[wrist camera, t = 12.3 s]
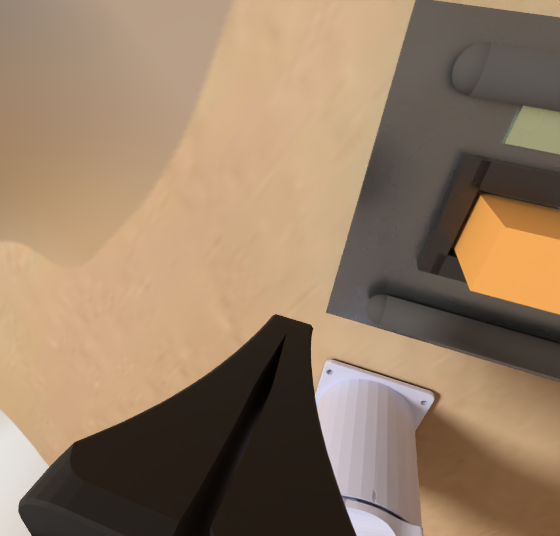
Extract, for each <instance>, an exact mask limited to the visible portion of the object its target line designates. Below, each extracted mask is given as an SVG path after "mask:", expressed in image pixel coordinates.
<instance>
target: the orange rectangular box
mask: <svg viewBox="0 0 560 536" xmlns="http://www.w3.org/2000/svg"><path fill="white" fill-rule="evenodd" d="M453 247H454V250H455V252H456V255H457V258H458V260H459V263H460V266H461V268H462V271H463V273H464V276H465V279H466V281H467V284H468V287H469V289H470V291H474V292H477V293H481V294H485V295H489V296H492V297H496V298H500V299H504V300H507V301H511V302H515V303H519V304H522V305H526V306H530V307H533V308H537V309H541V310H545V311H548V312H552V313H556V314H560V209H555V208H551V207H546V206H542V205H537V204H533V203H528V202H524V201H519V200H514V199H510V198H505V197H501V196H496V195H492V194H487V193H483V192H477V194H476V196H475V198H474V200H473V202H472V204H471V206H470V209H469V211H468V213H467V215H466V217H465V219H464V221H463V223H462V225H461V227H460V229H459V231H458V234H457V236H456V238H455V240H454V242H453Z"/></svg>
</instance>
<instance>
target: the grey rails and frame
mask: <svg viewBox="0 0 560 536" xmlns="http://www.w3.org/2000/svg"><path fill="white" fill-rule="evenodd" d="M452 81H453V84H454V86H455V88H456V89H457V90H458V91H459V92H460V93H462V94H464V95H467V96H473V97H478V98H484V99H490V100H495V101H501V102H506V103H512V104H518V105H523V106H529V107H534V108H540V109H546V110H551V111H557V112H560V52H554V51H548V50H541V49H535V48H528V47H521V46H515V45H508V44H502V43H495V42H479V43H476V44H473V45H472V46H470V47H468V48H467V49H466V50H465V51H463V52H462V54H461V55H460V56H459V57H458V59H457V60H456V62H455V64H454V67H453V71H452ZM366 314H367V316H368V318H369V320H370V321H371V322H373V323H374V324H376V325H379V326H382V327H386V328H389V329H393V330H396V331H399V332H403V333H406V334H409V335H413V336H416V337H419V338H423V339H426V340H430V341H433V342H436V343H440V344H443V345H446V346H450V347H453V348H457V349H460V350H463V351H467V352H470V353H473V354H477V355H480V356H484V357H487V358H490V359H494V360H497V361H500V362H504V363H507V364H510V365H514V366H517V367H521V368H524V369H527V370H531V371H534V372H537V373H541V374H544V375H548V376H551V377H554V378H558V379H560V344H559V343H556V342H552V341H548V340H545V339H541V338H538V337H534V336H531V335H527V334H524V333H520V332H516V331H513V330H509V329H506V328H502V327H499V326H495V325H491V324H488V323H484V322H481V321H477V320H474V319H470V318H467V317H463V316H459V315H456V314H452V313H449V312H445V311H442V310H438V309H435V308H431V307H427V306H424V305H420V304H417V303H413V302H410V301H406V300H403V299H399V298H395V297H392V296H388V295H384V294H379V295H376V296H373V297H372V298H371V299H370V300H369V301H368V303H367V305H366Z"/></svg>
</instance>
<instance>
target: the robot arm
mask: <svg viewBox="0 0 560 536" xmlns="http://www.w3.org/2000/svg"><path fill="white" fill-rule="evenodd" d="M312 331H313V328H312V326H311V325H310V324H306V323H303V322H300V321H296V320H293V319H290V318H287V317H283V316H280V315H277V314H276V315H273V316H272V317H271V318H270V320H269V321H268V322H267V323H266V324H265V325H264V326H263V327H262V328H261V329H260V330H259V331H258V332H257V333H256V334H255V335H254V336H253V337H252V338H251V339H250V340H249V341H248V342H247V343H246V344H244V345H243V346H242V347H241V348H240V349H239V350H238V351H237V352H235V353H234V354H233V355H232V356H230V357H229V358H228V359H227V360H225V361H224V362H223V363H222V364H220V365H219V366H218V367H216V368H215V369H214V370H212V371H211V372H210V373H208V374H207V375H205V376H204V377H202V378H201V379H199V380H198V381H196V382H195V383H193V384H192V385H190V386H189V387H187V388H185V389H184V390H182V391H180V392H179V393H177V394H175V395H174V396H172V397H170V398H169V399H167V400H165V401H163V402H161V403H160V404H158V405H156V406H154V407H152V408H150V409H148V410H146V411H144V412H142V413H140V414H138V415H136V416H134V417H132V418H130V419H128V420H126V421H124V422H121V423H119V424H117V425H115V426H112V427H110V428H108V429H105V430H103V431H100V432H98V433H96V434H93V435H91V436H89V437H86V438H84V439H81V440H79V441H76V442H74V443H73V444H72V445H71V446H70V447H69V448H68V449H67V450H66V451H65V452H64V453H63V454H62V455H61V456H60V457H59V458H58V459H57V460H56V461H55V462H54V463H53V464H52V465H51V466H50V467H49V468H48V469H47V470H46V472H45V473H44V474H43V475H42V476H41V477H40V479H39V480H38V481H37V482H36V483H35V484H34V486H33V487H32V488H31V489H30V490H29V491H28V492H27V493H26V495H25V496H24V497H23V498H22V499H21V500H20V503H19V514H20V516H21V519H22V520H23V522H24V524H25V525H26V527H27V528H28V530H29V532H30V533H31V535H32V536H424V535H423V528H422V522H421V508H420V494H419V480H418V466H417V452H416V439H415V431H416V429H417V428H418V426H419V424H420V423H421V421H422V419H423V418H424V416H425V415H426V413H427V411H428V410H429V408H430V407H431V405H432V403H433V402H434V400H435V397H434V393H433V392H431V391H429V390H426V389H423V388H420V387H417V386H414V385H410V384H407V383H404V382H401V381H398V380H395V379H392V378H389V377H385V376H382V375H379V374H376V373H373V372H370V371H367V370H364V369H361V368H357V367H354V366H351V365H348V364H345V363H342V362H339V361H336V360H331V359H330V360H327V361H326V362H325V365H324V369H323V372H322V375H321V378H320V381H319V384H318V387H317V391H316V394H315V393H314V386H313V378H312V367H311V337H312ZM329 370H332V371H329Z"/></svg>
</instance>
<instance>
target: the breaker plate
mask: <svg viewBox="0 0 560 536" xmlns="http://www.w3.org/2000/svg"><path fill="white" fill-rule="evenodd" d="M479 42H495V43H502V44H508V45H515V46H521V47H528V48H535V49H541V50H548V51H554V52H560V18H559V17H552V16H544V15H537V14H530V13H522V12H515V11H508V10H500V9H493V8H486V7H478V6H471V5H464V4H456V3H449V2H442V1H434V0H416V1H415V4H414V7H413V11H412V14H411V18H410V21H409V25H408V28H407V32H406V35H405V39H404V42H403V45H402V49H401V52H400V56H399V59H398V63H397V66H396V70H395V73H394V77H393V80H392V84H391V87H390V91H389V94H388V98H387V101H386V105H385V108H384V112H383V115H382V119H381V122H380V126H379V129H378V133H377V136H376V140H375V143H374V146H373V150H372V153H371V157H370V160H369V164H368V167H367V171H366V174H365V178H364V181H363V185H362V188H361V192H360V195H359V199H358V202H357V206H356V209H355V213H354V216H353V220H352V223H351V227H350V230H349V234H348V237H347V241H346V244H345V248H344V251H343V254H342V258H341V261H340V265H339V268H338V272H337V275H336V279H335V282H334V286H333V289H332V293H331V296H330V300H329V303H328V307H327V311H326V313H330V314H333V315H336V316H340V317H343V318H347V319H350V320H353V321H357V322H360V323H363V324H367V325H370V326H373V327H377V328H380V329H383V330H387V331H390V332H393V333H397V334H400V335H404V336H407V337H410V338H414V339H417V340H420V341H424V342H427V343H430V344H434V345H437V346H440V347H444V348H447V349H451V350H454V351H457V352H461V353H464V354H467V355H471V356H474V357H477V358H481V359H484V360H487V361H491V362H494V363H498V364H501V365H504V366H508V367H511V368H514V369H518V370H521V371H524V372H528V373H531V374H534V375H538V376H541V377H544V378H548V379H551V380H555V381H558V382H560V379H558V378H554V377H551V376H548V375H544V374H541V373H537V372H534V371H531V370H527V369H524V368H521V367H517V366H514V365H510V364H507V363H504V362H500V361H497V360H494V359H490V358H487V357H484V356H480V355H477V354H473V353H470V352H467V351H463V350H460V349H457V348H453V347H450V346H446V345H443V344H440V343H436V342H433V341H430V340H426V339H423V338H419V337H416V336H413V335H409V334H406V333H403V332H399V331H396V330H393V329H389V328H386V327H382V326H379V325H376V324H374V323H373V322H371V321H370V320H369V318H368V316H367V314H366V305H367V303H368V301H369V300H370V299H371V298H372V297H373V296H376V295H379V294H384V295H388V296H392V297H395V298H399V299H403V300H406V301H410V302H413V303H417V304H420V305H424V306H427V307H431V308H435V309H438V310H442V311H445V312H449V313H452V314H456V315H459V316H463V317H467V318H470V319H474V320H477V321H481V322H484V323H488V324H491V325H495V326H499V327H502V328H506V329H509V330H513V331H516V332H520V333H524V334H527V335H531V336H534V337H538V338H541V339H545V340H548V341H552V342H556V343H559V344H560V314H556V313H552V312H548V311H545V310H541V309H537V308H533V307H530V306H526V305H522V304H519V303H515V302H511V301H507V300H504V299H500V298H496V297H492V296H489V295H485V294H481V293H477V292H474V291H470V289H469V287H468V284H467V281H466V279H465V276H464V273H463V271H462V268H461V266H460V263H459V260H458V258H457V255H456V252H455V250H454V247H453V242H454V240H455V238H456V236H457V234H458V231H459V229H460V227H461V225H462V223H463V221H464V219H465V217H466V215H467V213H468V211H469V209H470V206H471V204H472V202H473V200H474V198H475V196H476V194H477V192H483V193H487V194H492V195H496V196H501V197H505V198H510V199H514V200H519V201H524V202H528V203H533V204H537V205H542V206H546V207H551V208H555V209H560V112H557V111H551V110H546V109H540V108H534V107H529V106H523V105H518V104H512V103H506V102H501V101H495V100H490V99H484V98H478V97H473V96H467V95H464V94H462V93H460V92H459V91H458V90H457V89H456V88H455V86H454V84H453V81H452V71H453V67H454V64H455V62H456V60H457V59H458V57H459V56H460V55H461V54H462V52H463V51H465V50H466V49H467V48H468V47H470V46H472V45H473V44H476V43H479Z"/></svg>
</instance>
